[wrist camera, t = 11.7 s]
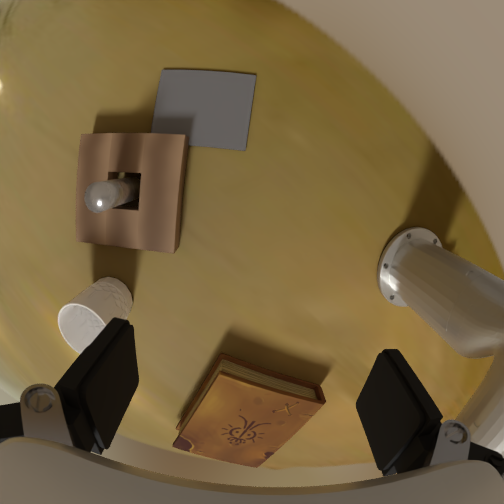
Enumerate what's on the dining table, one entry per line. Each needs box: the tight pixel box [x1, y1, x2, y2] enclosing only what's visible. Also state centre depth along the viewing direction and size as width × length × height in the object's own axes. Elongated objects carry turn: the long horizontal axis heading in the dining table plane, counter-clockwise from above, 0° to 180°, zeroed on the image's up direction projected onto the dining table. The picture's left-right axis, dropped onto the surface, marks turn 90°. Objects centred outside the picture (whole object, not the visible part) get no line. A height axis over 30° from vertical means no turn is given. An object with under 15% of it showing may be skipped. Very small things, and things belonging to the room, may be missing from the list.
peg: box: [84, 177, 141, 213], centre depth 29 cm, size 3×3×10 cm
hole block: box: [76, 133, 189, 253], centre depth 32 cm, size 14×14×3 cm
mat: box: [151, 70, 256, 151], centre depth 31 cm, size 12×10×1 cm
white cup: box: [58, 277, 133, 354], centre depth 33 cm, size 8×8×10 cm
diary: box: [173, 353, 326, 468], centre depth 43 cm, size 23×19×6 cm
